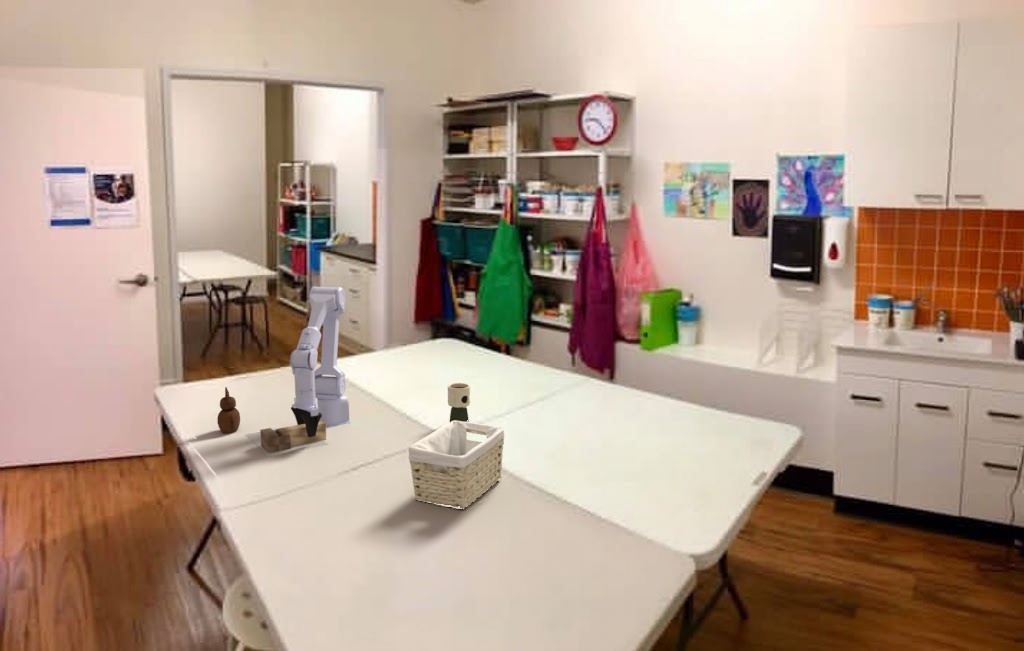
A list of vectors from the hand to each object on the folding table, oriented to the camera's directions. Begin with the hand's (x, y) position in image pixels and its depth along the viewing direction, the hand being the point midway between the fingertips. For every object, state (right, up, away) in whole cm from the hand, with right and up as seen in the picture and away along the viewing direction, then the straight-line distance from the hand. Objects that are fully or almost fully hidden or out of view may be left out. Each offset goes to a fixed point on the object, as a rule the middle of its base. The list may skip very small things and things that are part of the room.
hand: (307, 432), depth 237 cm
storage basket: (+47, -11, -33) cm, 59 cm away
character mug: (+44, 0, +17) cm, 48 cm away
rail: (-1, -3, 0) cm, 3 cm away
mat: (-7, -3, +2) cm, 8 cm away
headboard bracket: (-8, -4, -5) cm, 10 cm away
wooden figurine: (-26, -1, +9) cm, 28 cm away
